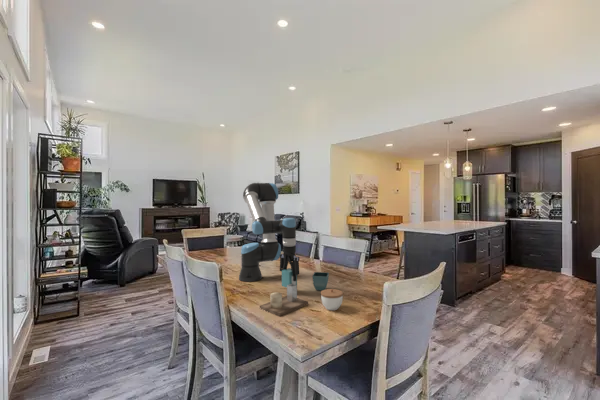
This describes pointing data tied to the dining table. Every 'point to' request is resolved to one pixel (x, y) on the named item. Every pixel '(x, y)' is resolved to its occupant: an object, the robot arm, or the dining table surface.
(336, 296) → the lidded jar
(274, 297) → the cream smooth rounded part
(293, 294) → the square post
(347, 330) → the dining table surface
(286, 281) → the teal rectangular block
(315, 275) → the flower pot
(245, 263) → the robot arm
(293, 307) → the base board
